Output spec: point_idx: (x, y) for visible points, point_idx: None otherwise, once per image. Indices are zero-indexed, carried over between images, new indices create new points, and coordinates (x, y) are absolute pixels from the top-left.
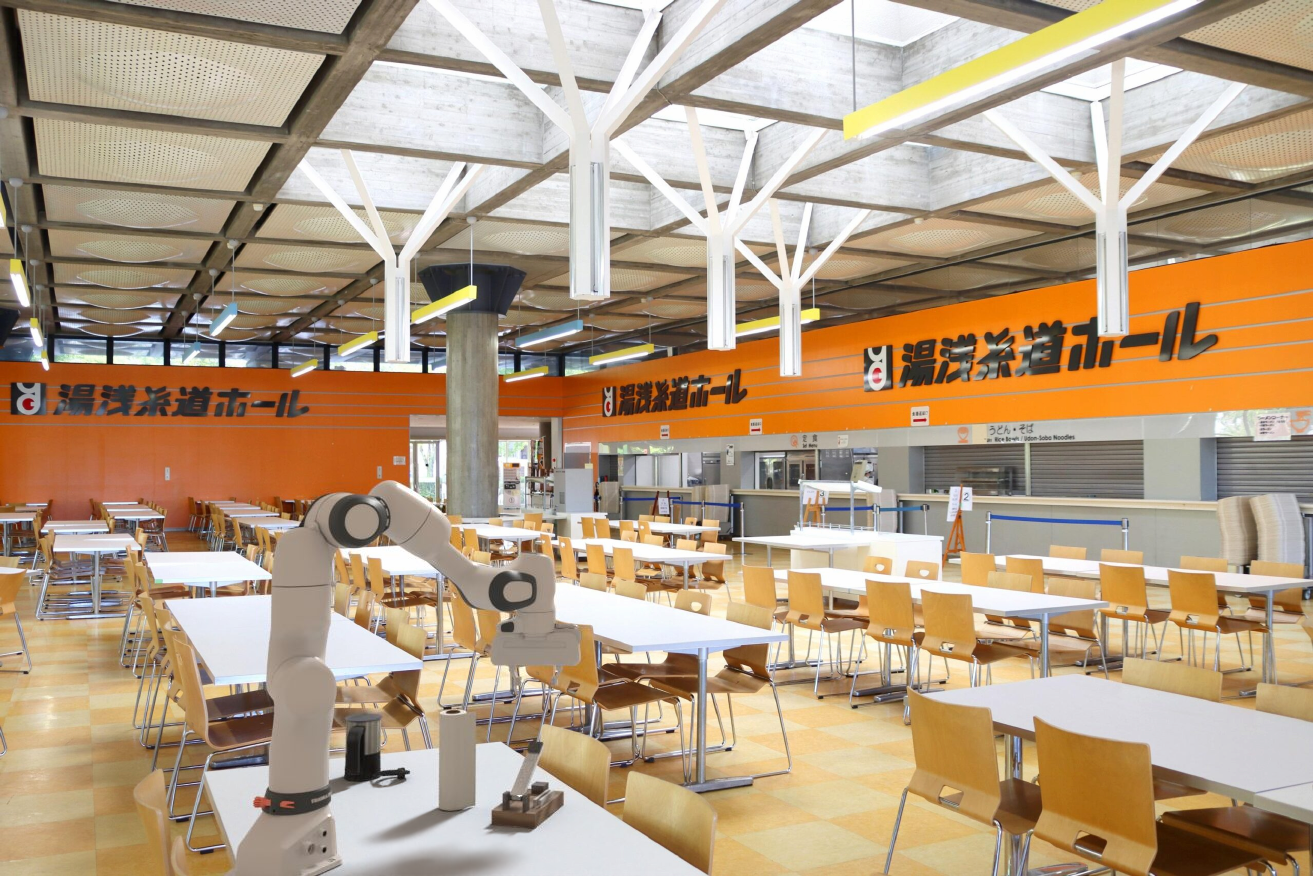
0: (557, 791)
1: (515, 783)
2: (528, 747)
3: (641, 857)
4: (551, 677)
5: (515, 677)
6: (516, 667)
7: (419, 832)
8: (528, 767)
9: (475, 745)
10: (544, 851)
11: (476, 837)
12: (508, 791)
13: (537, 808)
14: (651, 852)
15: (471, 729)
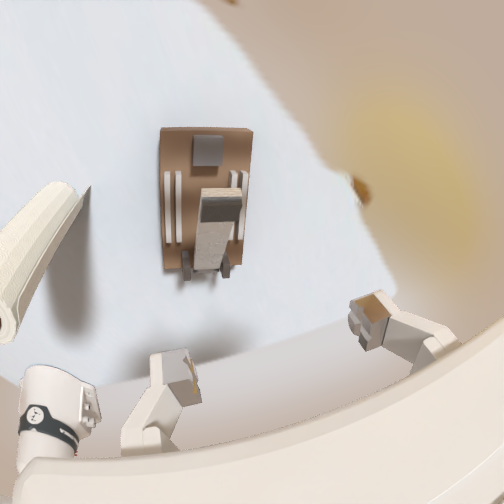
0: (241, 135)
1: (196, 260)
2: (202, 219)
3: (370, 292)
4: (370, 337)
5: (177, 411)
6: (162, 437)
7: (90, 308)
8: (214, 240)
9: (54, 236)
10: (273, 313)
11: (171, 303)
12: (188, 267)
13: (236, 240)
14: (380, 278)
15: (35, 270)
